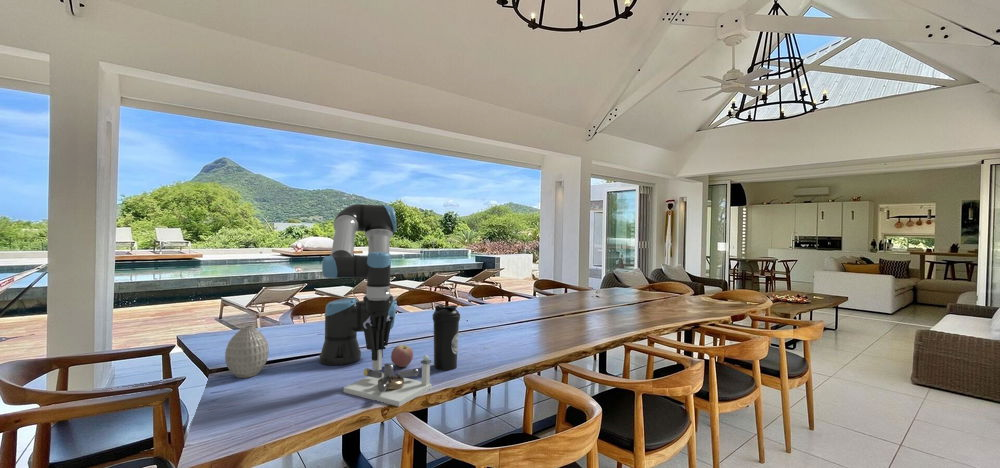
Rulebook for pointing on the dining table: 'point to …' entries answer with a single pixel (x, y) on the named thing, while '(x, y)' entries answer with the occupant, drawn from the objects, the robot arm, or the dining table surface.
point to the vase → (246, 352)
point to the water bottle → (446, 337)
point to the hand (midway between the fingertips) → (377, 369)
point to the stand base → (393, 397)
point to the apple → (402, 355)
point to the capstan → (390, 377)
